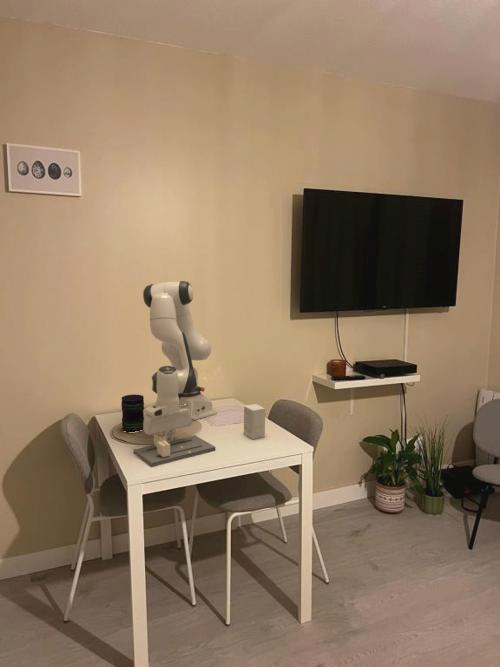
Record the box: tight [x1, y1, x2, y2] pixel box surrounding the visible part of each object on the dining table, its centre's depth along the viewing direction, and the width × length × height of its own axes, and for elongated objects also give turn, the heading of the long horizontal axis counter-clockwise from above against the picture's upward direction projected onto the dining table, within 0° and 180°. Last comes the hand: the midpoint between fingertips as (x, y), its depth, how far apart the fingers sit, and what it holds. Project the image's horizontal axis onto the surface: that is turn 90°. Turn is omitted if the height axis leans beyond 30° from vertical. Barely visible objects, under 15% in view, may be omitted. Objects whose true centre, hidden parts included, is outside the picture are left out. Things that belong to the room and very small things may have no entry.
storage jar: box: [121, 394, 145, 432], centre depth 223 cm, size 10×10×15 cm
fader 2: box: [157, 441, 170, 457], centre depth 191 cm, size 3×5×5 cm, turn 37°
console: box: [133, 435, 216, 468], centre depth 199 cm, size 28×16×2 cm, turn 127°
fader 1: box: [153, 432, 168, 447], centre depth 199 cm, size 3×5×5 cm, turn 37°
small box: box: [243, 403, 266, 440], centre depth 217 cm, size 8×6×13 cm
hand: (168, 440), depth 201 cm, fingers closed
